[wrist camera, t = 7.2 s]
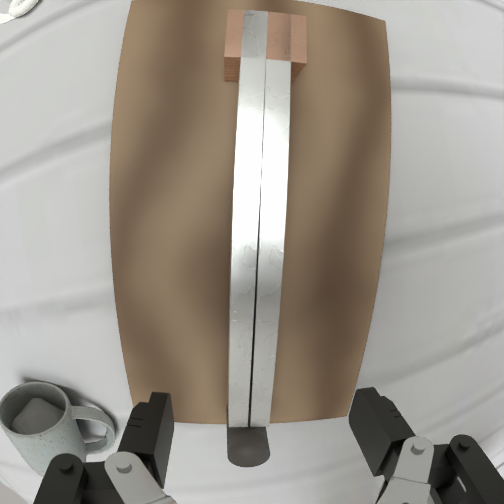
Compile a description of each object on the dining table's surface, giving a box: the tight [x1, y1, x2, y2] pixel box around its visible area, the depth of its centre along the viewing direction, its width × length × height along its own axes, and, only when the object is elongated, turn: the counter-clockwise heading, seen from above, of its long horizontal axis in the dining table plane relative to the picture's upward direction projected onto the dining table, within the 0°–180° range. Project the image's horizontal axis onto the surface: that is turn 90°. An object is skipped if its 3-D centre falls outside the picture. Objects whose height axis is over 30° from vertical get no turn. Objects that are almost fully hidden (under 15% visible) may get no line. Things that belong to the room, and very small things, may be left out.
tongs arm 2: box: [224, 9, 268, 427], centre depth 17 cm, size 24×2×4 cm, turn 177°
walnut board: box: [109, 0, 391, 467], centre depth 17 cm, size 18×32×6 cm, turn 177°
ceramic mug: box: [0, 382, 116, 477], centre depth 19 cm, size 10×8×7 cm
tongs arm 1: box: [249, 12, 307, 427], centre depth 17 cm, size 24×2×4 cm, turn 178°
